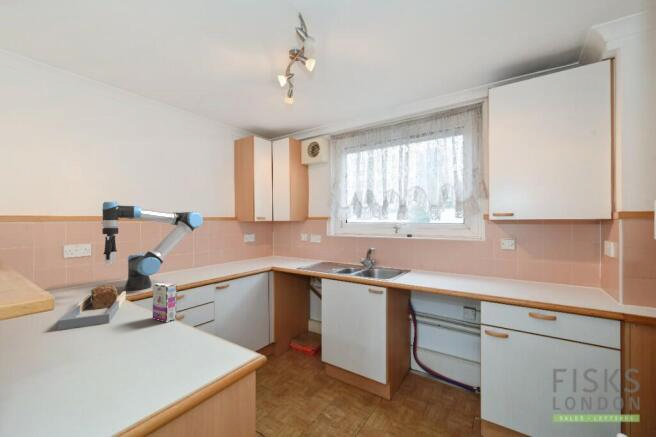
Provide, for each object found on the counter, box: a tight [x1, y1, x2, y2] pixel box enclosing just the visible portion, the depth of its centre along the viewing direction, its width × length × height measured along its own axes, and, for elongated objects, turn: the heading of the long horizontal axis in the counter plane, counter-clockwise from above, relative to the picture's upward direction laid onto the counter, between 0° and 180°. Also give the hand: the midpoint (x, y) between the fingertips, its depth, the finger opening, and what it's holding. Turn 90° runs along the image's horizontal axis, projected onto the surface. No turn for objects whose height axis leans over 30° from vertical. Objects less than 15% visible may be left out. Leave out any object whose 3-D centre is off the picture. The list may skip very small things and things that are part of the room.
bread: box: [90, 284, 118, 310], centre depth 149 cm, size 19×11×10 cm, turn 42°
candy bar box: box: [152, 281, 178, 322], centre depth 126 cm, size 11×5×16 cm, turn 62°
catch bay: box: [57, 290, 127, 331], centre depth 137 cm, size 17×46×4 cm, turn 29°
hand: (110, 263), depth 162 cm, fingers open, 11 cm apart
